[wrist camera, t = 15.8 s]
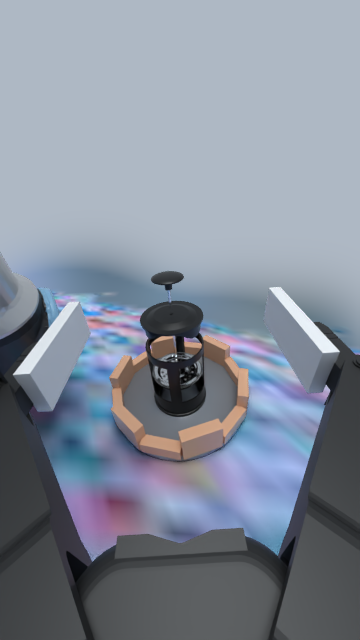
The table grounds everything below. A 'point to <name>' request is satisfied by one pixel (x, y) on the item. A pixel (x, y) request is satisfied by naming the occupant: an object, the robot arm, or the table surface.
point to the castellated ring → (189, 431)
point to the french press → (175, 350)
